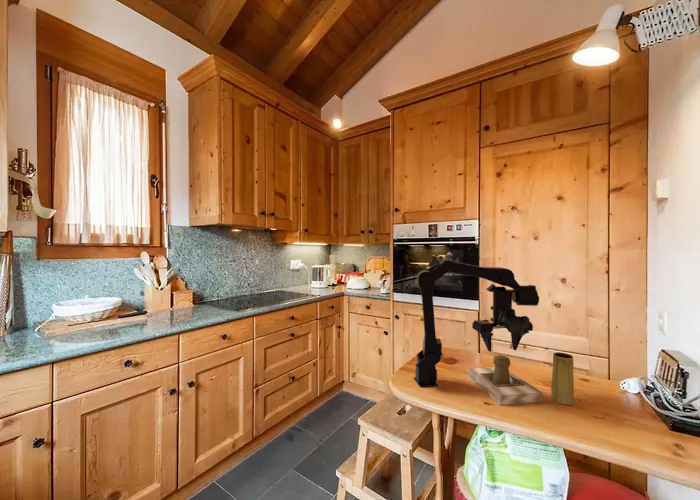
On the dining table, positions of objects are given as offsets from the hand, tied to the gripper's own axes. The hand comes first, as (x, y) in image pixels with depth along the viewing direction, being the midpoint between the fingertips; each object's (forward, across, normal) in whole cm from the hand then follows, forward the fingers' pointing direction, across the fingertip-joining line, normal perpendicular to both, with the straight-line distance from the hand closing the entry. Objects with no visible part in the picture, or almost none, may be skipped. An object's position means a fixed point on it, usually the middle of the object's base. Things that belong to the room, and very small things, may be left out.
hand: (502, 350), depth 100 cm
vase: (+13, +14, -10) cm, 21 cm away
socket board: (+13, 0, 0) cm, 13 cm away
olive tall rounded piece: (+13, 0, 0) cm, 13 cm away
